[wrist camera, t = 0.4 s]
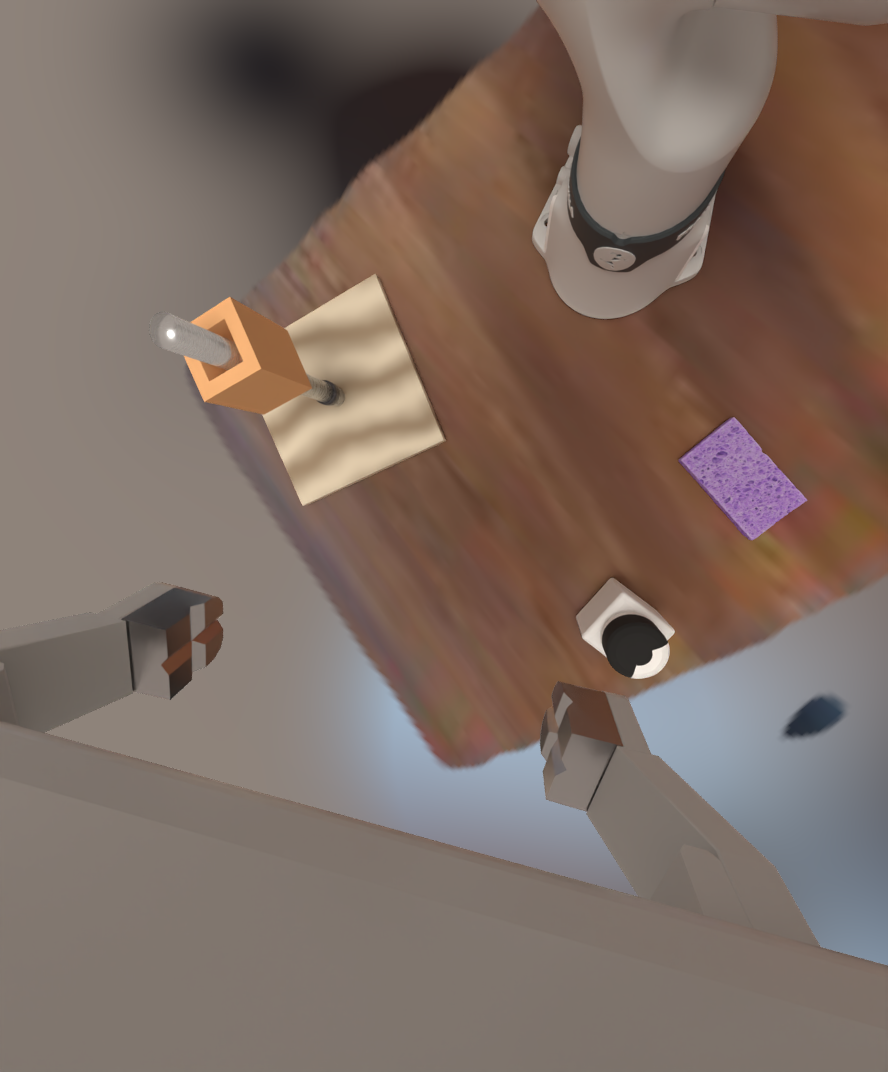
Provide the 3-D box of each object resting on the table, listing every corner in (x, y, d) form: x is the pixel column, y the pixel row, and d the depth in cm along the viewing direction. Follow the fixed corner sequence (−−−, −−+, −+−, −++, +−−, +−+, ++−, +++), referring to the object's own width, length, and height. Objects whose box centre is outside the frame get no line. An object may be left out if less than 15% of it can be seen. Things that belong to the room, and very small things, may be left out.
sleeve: (312, 388, 41) (261, 368, 33) (264, 414, 42) (204, 401, 34) (287, 330, 40) (229, 296, 32) (239, 358, 42) (173, 333, 34)
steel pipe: (350, 402, 54) (188, 340, 28) (331, 412, 55) (157, 359, 29) (341, 381, 54) (170, 299, 28) (323, 391, 54) (139, 320, 29)
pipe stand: (446, 441, 54) (444, 440, 52) (308, 504, 59) (302, 505, 58) (379, 279, 52) (375, 273, 51) (244, 359, 58) (236, 356, 56)
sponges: (727, 418, 47) (735, 416, 46) (800, 500, 47) (811, 501, 45) (674, 460, 49) (679, 459, 47) (744, 539, 49) (753, 541, 47)
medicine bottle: (574, 616, 54) (586, 656, 42) (611, 575, 52) (634, 605, 41) (618, 651, 53) (643, 700, 42) (657, 610, 52) (694, 651, 40)
